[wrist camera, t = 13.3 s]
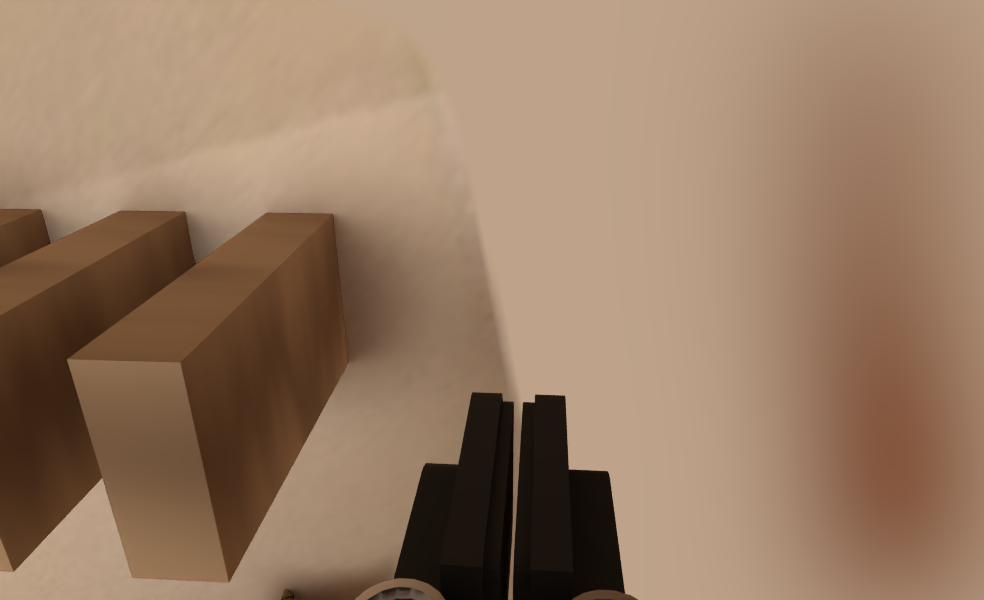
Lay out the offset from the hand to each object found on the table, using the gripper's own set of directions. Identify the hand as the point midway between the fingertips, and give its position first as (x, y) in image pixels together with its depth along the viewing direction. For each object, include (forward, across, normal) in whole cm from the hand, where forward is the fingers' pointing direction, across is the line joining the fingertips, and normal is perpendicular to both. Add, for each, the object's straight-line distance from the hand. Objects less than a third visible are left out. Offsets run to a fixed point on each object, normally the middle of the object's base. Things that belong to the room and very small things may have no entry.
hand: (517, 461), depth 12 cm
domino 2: (+9, +7, +1) cm, 11 cm away
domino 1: (+8, +11, +1) cm, 14 cm away
